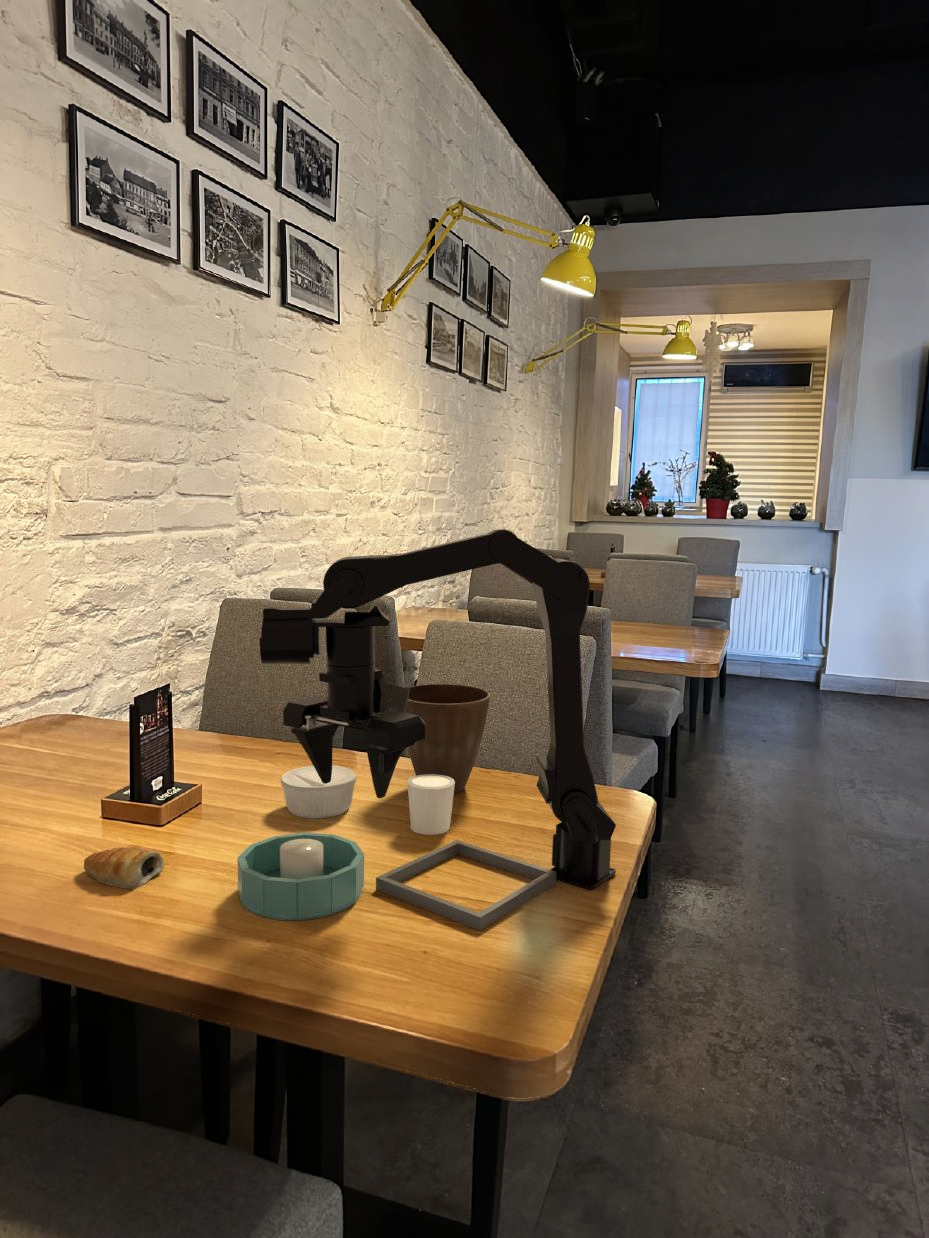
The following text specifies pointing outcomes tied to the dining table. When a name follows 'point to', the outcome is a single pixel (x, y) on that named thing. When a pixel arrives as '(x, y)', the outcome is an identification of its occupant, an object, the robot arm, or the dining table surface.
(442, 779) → the white cup
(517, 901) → the gray square frame
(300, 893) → the bowl
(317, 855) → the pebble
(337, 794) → the ramekin
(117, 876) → the pastry
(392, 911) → the dining table surface
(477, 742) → the plant pot
